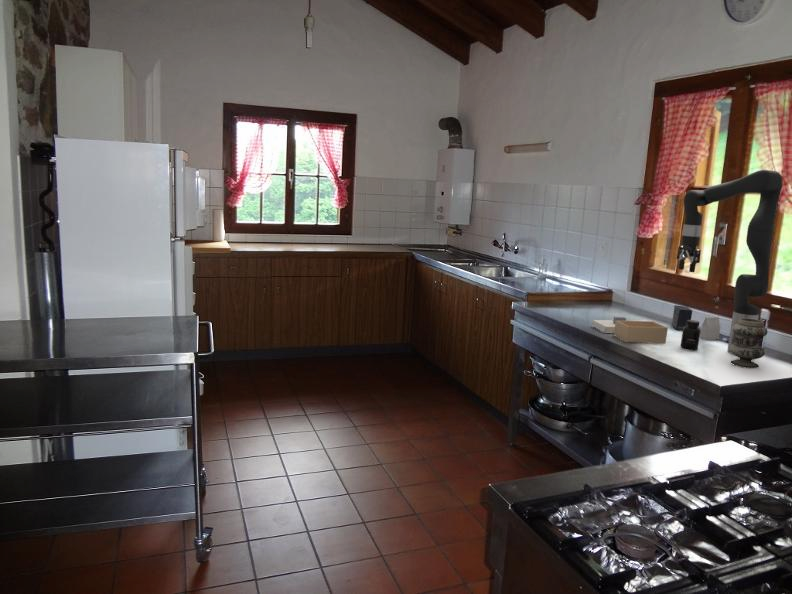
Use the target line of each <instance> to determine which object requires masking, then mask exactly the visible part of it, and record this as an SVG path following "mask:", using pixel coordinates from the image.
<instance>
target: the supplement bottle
mask: <svg viewBox="0 0 792 594" xmlns="http://www.w3.org/2000/svg"><path fill="white" fill-rule="evenodd" d="M686 325H687V326H685V327H684V328H683V330H682V333H681V334H682V335H681V340H680V348H681V349H683V350H687V351H697V350H698V349H699V345H700V339H701V338H700V335H701V328H700V321H698V320H695V319H691V320H687V323H686Z"/></svg>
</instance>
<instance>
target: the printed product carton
mask: <svg viewBox="0 0 792 594" xmlns="http://www.w3.org/2000/svg"><path fill="white" fill-rule="evenodd" d="M700 330H701V333H700V339H702V340H705V341H716V340H715V339H718V338H719V339H720V332H721V323H720V317H713V316H712V317H710V316H709V317H706V316H705V318H704V320H703V323H702V324H701V328H700Z"/></svg>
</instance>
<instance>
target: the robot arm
mask: <svg viewBox="0 0 792 594" xmlns="http://www.w3.org/2000/svg"><path fill="white" fill-rule="evenodd" d="M782 187H783V176H782V174H781V173H780V172H778V171H776V170H769V169H759V170H756V171H754V172H751V173H750V174H747V175H745V176H743V177H740V178H738V179H737V178H736V179H734V180H730V181H728V182H723V183H719V184H715V185H712V186H709V187H707V188H706V189H702V190H699V189H691V190H687V192H686V193H685V194H684V196H683V197H684V198H683V208H684V222H683V228H682V233H681V238H680V239H681V240H680V245H681V246H678V247H677V253H676V260H678V261H679V262H678V270H682V271H683V270H684V269H685V262H686V260H687V259H688V261H689V263H690V264H689V268H688V269H689V272H690V273H695V271H696V265H697V264H700V261H701V252H702V251H701V249H697V247H699V246H700V241H701V234H702V223H703V213H702V212H700V211H699V209H698V207H703V206H707V205H711V204H713V203H717V202H721V201H726V200H728V199H731V198H734V197H735V196H738V195H740V194H744V193H745V194H746V193H747V194H748V193H759V194H760V197H759V204H758V206H757V209H756V211H755V212H754V214H753V216H752V218H751V219H750V221H749V224H748V227H747V230H746V231H747V233H746V241H745V242H746V246H747V248H748V250H749V252H750V254H751V256H752V257H753V260H754V264H755V274H749V273H748V274H746V273H742V274H740V275H739V276H737V278H736V282H735V287H734V297H733V312H732V317H731V318H732V319H731V324H730V330H729V337H728V344H727V351H726V352H728V353H729V354H732V353H731V352H730V350H729V347H730V346H731V345H732V344H734V339H735V332H734V330H733V326H734V325H735V324H736V323H738V321H739V318H751V319H757V320H759V314H760V307H758V306H756V305H754V304H751V302H749V298H764V297H765V296H766V294H767V292H768V289H769V283H770V282H769V281H770V279H769V278H770V276H769V275H770V262H771V261H770V259H771V252H772V244H773V239H774V230H775V224H776V223H775V222H776V216H777V210H778V209H777V208H778V203H779V200H780V197H781V196H780V195H781V192H782Z"/></svg>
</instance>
